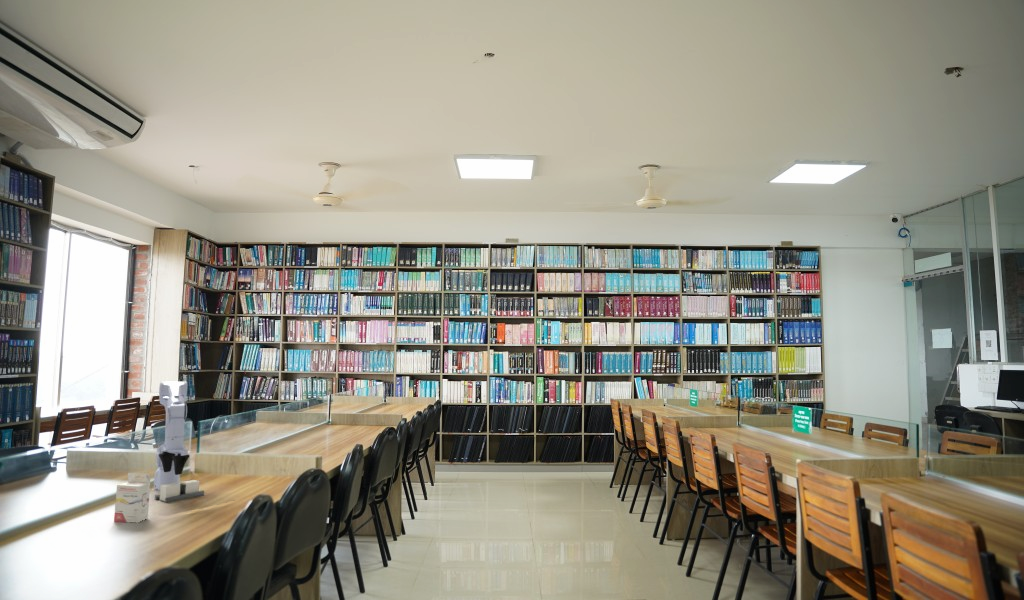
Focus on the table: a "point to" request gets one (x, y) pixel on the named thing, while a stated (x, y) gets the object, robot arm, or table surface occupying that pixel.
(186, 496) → the sliding window
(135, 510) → the ink cartridge box
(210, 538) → the table surface
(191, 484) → the white and grey block
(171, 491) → the white cardboard box
